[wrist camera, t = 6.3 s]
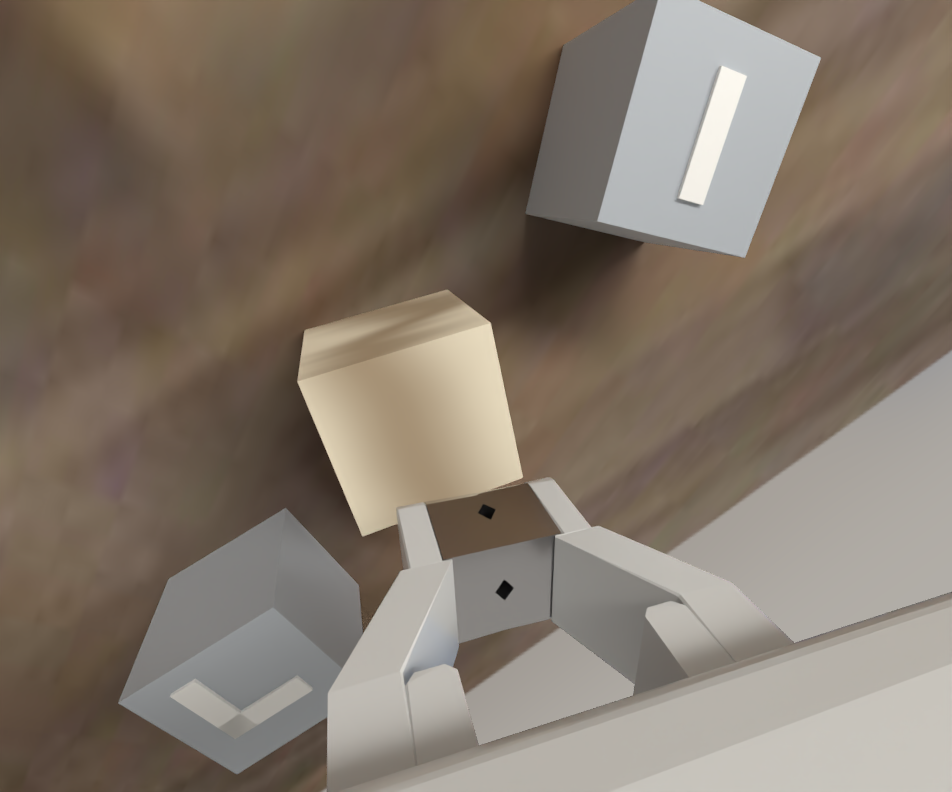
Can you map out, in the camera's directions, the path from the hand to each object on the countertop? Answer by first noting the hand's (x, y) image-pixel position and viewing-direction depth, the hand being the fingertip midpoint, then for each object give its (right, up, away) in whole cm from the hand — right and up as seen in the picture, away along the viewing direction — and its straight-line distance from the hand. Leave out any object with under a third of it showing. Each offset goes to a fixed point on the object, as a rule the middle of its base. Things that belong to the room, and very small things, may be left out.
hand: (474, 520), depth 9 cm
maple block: (-3, +3, +8) cm, 9 cm away
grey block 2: (+5, +11, +8) cm, 14 cm away
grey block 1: (-8, -5, +10) cm, 14 cm away
